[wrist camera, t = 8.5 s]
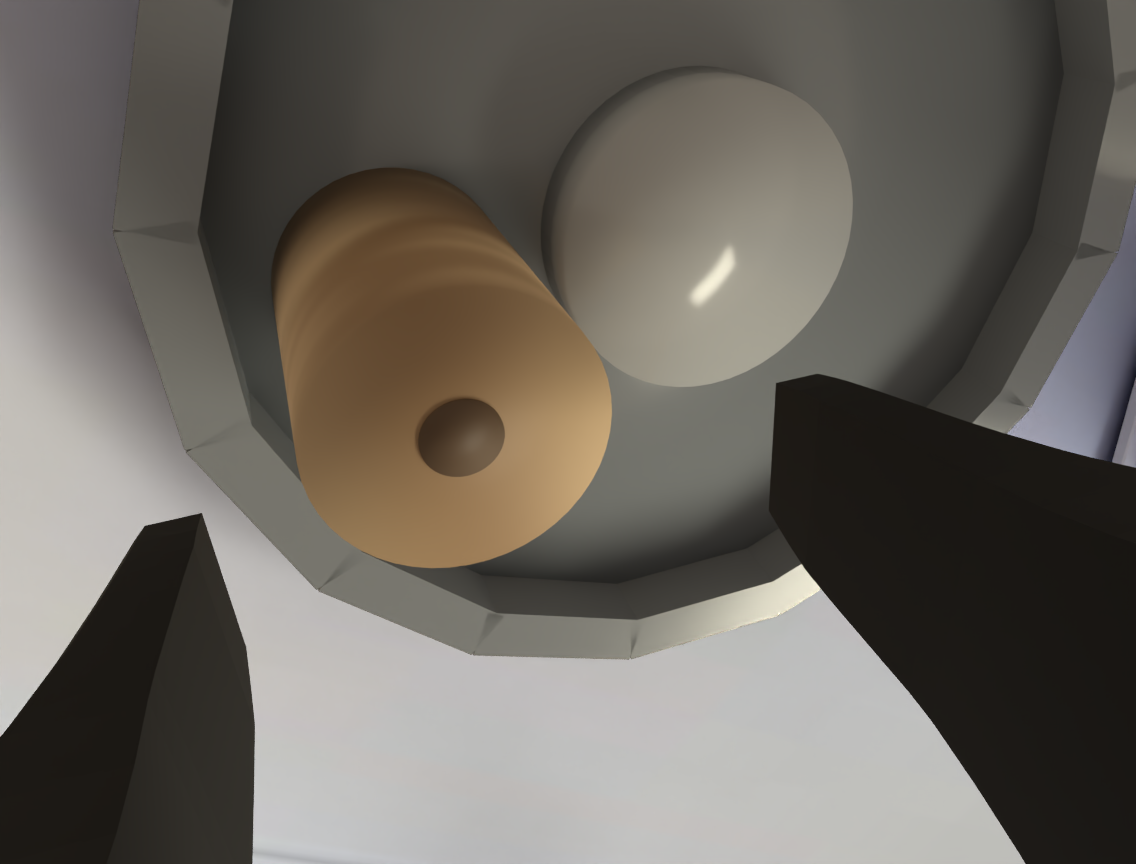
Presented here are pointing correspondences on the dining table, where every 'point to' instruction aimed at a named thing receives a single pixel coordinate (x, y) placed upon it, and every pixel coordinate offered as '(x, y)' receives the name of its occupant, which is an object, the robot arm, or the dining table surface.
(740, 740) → the dining table surface
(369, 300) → the oak bead
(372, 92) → the round tray
